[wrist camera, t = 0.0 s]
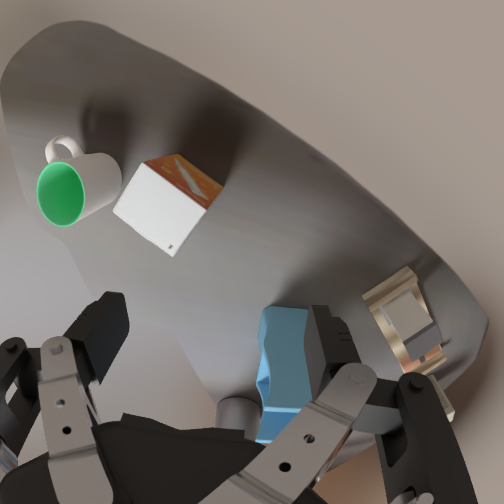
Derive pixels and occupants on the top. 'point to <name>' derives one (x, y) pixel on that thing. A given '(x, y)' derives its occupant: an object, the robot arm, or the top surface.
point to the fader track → (373, 302)
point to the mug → (76, 183)
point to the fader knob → (411, 324)
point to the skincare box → (442, 398)
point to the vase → (281, 369)
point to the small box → (167, 201)
